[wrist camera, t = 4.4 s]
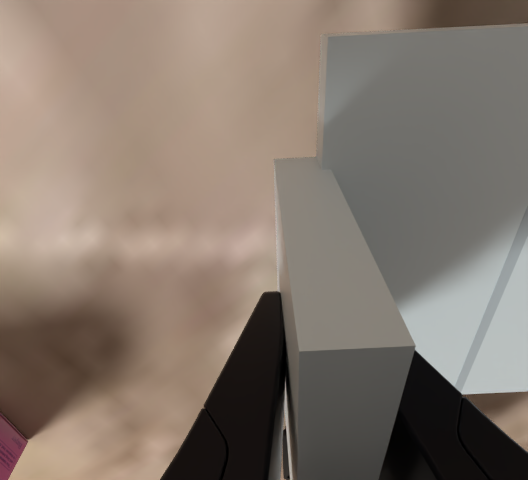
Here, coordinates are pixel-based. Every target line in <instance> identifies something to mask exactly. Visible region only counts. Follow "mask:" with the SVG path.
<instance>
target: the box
mask: <svg viewBox="0 0 528 480" xmlns="http://www.w3.org/2000/svg"><path fill="white" fill-rule="evenodd" d="M27 443H28V440H27V439H26V438H25V437H24V436H23V435H22V434H21V433H20V432H19V431H18V429H17V428H16V427H15V426H14V425H13V424H12V423H11V422H10V421H9V420H8V419H7V418H6V417H5V416H4V415H3V414H2V413H1V412H0V480H8V479H9V477H10V475H11V473H12V471H13V469H14V467H15V465H16V464H17V462H18V460H19V458H20V456H21V454H22V452H23V450H24V448H25V447H26V445H27Z"/></svg>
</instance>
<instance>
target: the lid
mask: <svg viewBox="0 0 528 480" xmlns="http://www.w3.org/2000/svg"><path fill="white" fill-rule="evenodd" d="M274 185H275V218H276V251H277V284H278V291H279V292H280V293H281V300H282V309H283V318H284V332H285V404H284V406H285V419H286V432H287V445H288V458H289V471H290V480H378V479H379V476H380V472H381V469H382V465H383V462H384V458H385V454H386V451H387V447H388V444H389V440H390V437H391V433H392V429H393V426H394V422H395V419H396V415H397V411H398V408H399V404H400V401H401V397H402V394H403V390H404V386H405V383H406V379H407V376H408V372H409V369H410V365H411V361H412V358H413V354H414V351H415V350H416V351H417V352H418V353H419V354H420V355H421V356H422V357H423V358H424V359H425V360H427V361H428V362H429V363H430V364H431V365H432V366H433V367H434V368H435V369H436V370H437V371H438V372H439V373H440V374H441V375H443V376H444V377H445V378H446V379H447V380H448V381H449V382H450V383H451V384H452V385H453V386H454V387H455V388H456V389H457V390H458V391H460V392H461V393H462V395H463V394H484V393H504V392H525V391H528V23H523V24H503V25H484V26H465V27H446V28H427V29H408V30H389V31H369V32H350V33H331V34H321V43H320V70H319V97H318V123H317V150H316V157H303V158H283V159H274Z"/></svg>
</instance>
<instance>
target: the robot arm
mask: <svg viewBox="0 0 528 480" xmlns="http://www.w3.org/2000/svg"><path fill="white" fill-rule="evenodd" d="M284 404H285V332H284V318H283V309H282V300H281V293H280V292H279V291H273V292H264V293H263V294H262V296H261V298H260V299H259V301H258V303H257V305H256V307H255V309H254V311H253V313H252V315H251V316H250V318H249V320H248V322H247V324H246V326H245V328H244V330H243V332H242V334H241V335H240V337H239V339H238V341H237V343H236V345H235V347H234V349H233V351H232V353H231V354H230V356H229V358H228V360H227V362H226V364H225V366H224V368H223V370H222V371H221V373H220V375H219V377H218V379H217V381H216V383H215V385H214V387H213V389H212V390H211V392H210V394H209V396H208V398H207V400H206V402H205V404H204V408H203V409H201V411H200V413H199V415H198V417H197V419H196V420H195V422H194V424H193V426H192V428H191V430H190V431H189V433H188V435H187V437H186V438H185V440H184V442H183V444H182V445H181V447H180V449H179V451H178V452H177V454H176V456H175V457H174V459H173V460H172V462H171V463H170V465H169V466H168V468H167V470H166V471H165V473H164V474H163V476H162V477H161V479H160V480H280V476H281V458H282V442H283V473H284V479H286V480H290V471H289V458H288V445H287V432H286V429H284V430H283V422H284ZM378 480H528V452H527V451H526V450H524V449H523V448H522V447H521V446H520V445H518V444H517V443H516V442H515V441H514V440H512V439H511V438H510V437H509V436H508V435H507V434H505V433H504V432H503V431H502V430H501V429H500V428H499V427H498V426H497V425H495V424H494V423H493V422H492V421H491V420H490V419H489V418H488V417H487V416H485V415H484V414H483V413H482V412H481V411H480V410H479V409H478V408H477V407H476V406H475V405H474V404H473V403H471V402H470V401H469V400H468V399H467V398H466V397H463V398H462V393H461V392H460V391H458V390H457V389H456V388H455V387H454V386H453V385H452V384H451V383H450V382H449V381H448V380H447V379H446V378H445V377H444V376H443V375H441V374H440V373H439V372H438V371H437V370H436V369H435V368H434V367H433V366H432V365H431V364H430V363H429V362H428V361H427V360H425V359H424V358H423V357H422V356H421V355H420V354H419V353H418V352H417V351H416V350H415V351H414V354H413V358H412V361H411V365H410V369H409V372H408V376H407V379H406V383H405V386H404V390H403V394H402V397H401V401H400V404H399V408H398V411H397V415H396V419H395V422H394V426H393V429H392V433H391V437H390V440H389V444H388V447H387V451H386V454H385V458H384V462H383V465H382V469H381V472H380V476H379V479H378Z"/></svg>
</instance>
